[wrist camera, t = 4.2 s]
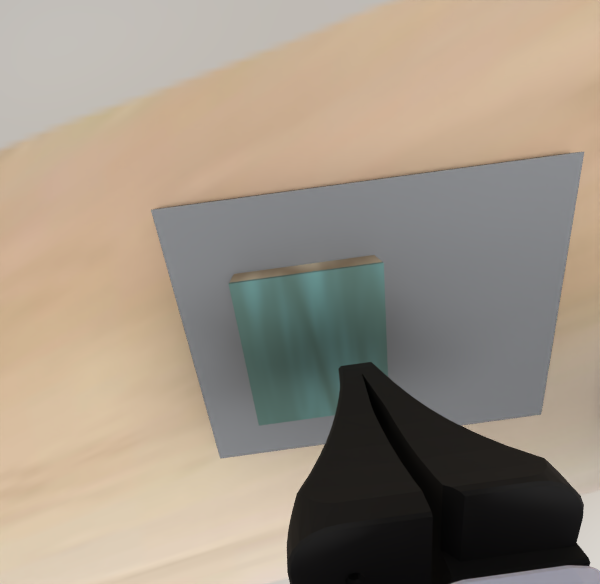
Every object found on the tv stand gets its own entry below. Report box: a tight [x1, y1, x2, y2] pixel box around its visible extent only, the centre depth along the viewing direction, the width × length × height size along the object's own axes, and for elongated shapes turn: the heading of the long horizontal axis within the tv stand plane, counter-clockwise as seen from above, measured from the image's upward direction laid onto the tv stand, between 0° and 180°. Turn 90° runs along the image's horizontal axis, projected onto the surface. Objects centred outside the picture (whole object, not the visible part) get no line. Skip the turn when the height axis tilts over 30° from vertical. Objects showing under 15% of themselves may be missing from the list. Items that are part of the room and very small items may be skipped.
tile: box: [229, 255, 388, 426], centre depth 16 cm, size 2×8×7 cm
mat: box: [151, 152, 584, 458], centre depth 17 cm, size 20×15×1 cm
